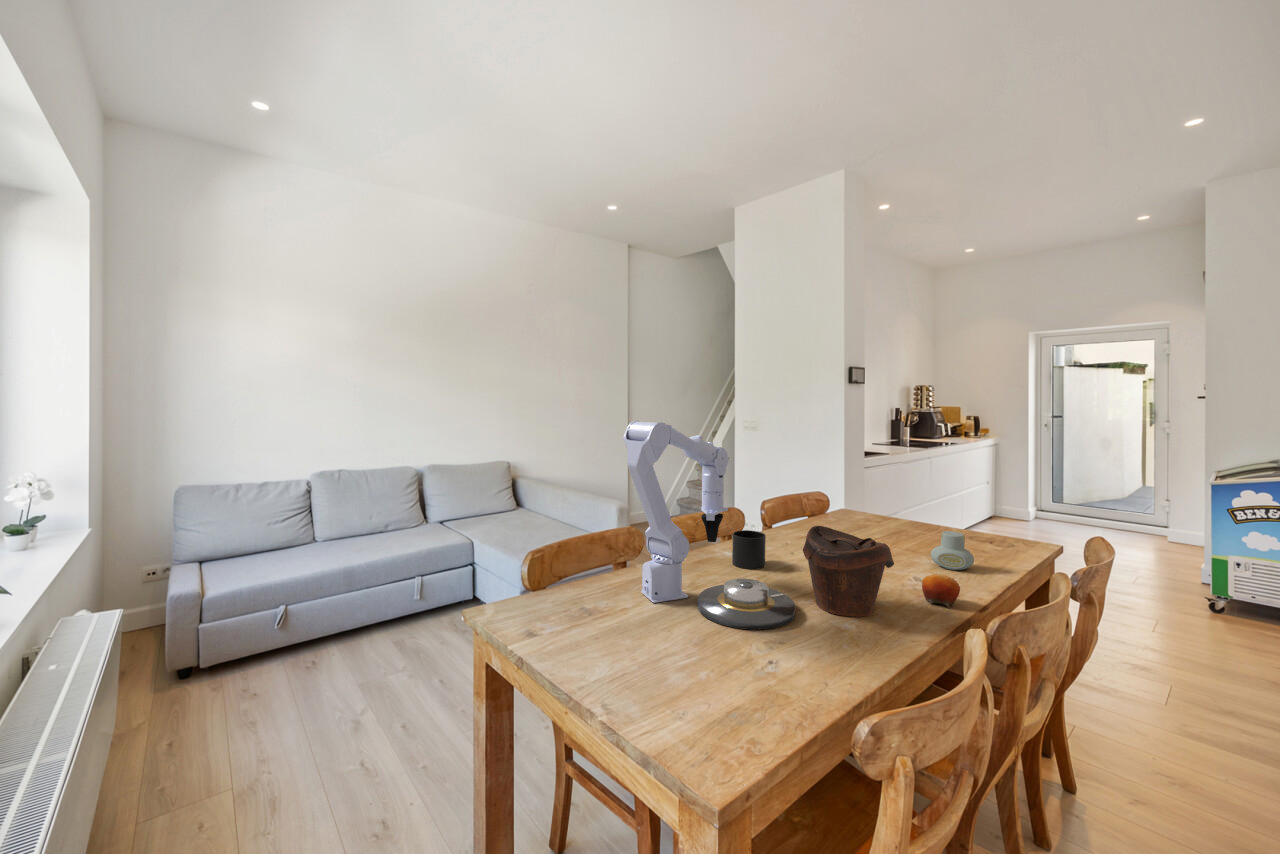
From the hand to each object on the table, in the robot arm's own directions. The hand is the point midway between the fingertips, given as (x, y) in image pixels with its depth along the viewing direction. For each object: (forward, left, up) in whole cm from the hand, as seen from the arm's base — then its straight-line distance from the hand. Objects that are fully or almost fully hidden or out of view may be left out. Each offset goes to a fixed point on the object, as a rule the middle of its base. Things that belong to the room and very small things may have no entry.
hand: (712, 541), depth 145 cm
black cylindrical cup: (+18, +8, -11) cm, 22 cm away
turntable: (-3, -21, -10) cm, 24 cm away
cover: (-3, -21, -8) cm, 23 cm away
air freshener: (+71, -16, -11) cm, 74 cm away
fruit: (+44, -34, -11) cm, 56 cm away
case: (+20, -28, -11) cm, 36 cm away
